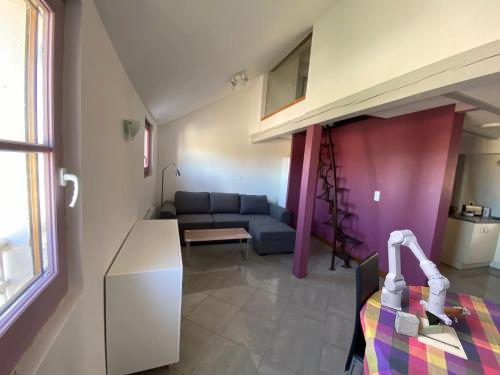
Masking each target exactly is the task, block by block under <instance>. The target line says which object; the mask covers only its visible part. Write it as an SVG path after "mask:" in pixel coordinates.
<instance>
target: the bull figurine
mask: <svg viewBox="0 0 500 375" xmlns="http://www.w3.org/2000/svg"><path fill="white" fill-rule="evenodd" d="M443 311H444V314H445V315H446V316H447V317H453V319H454V321H455V322H456V323H457V324H458V323H459V322H458V320H459V318H460V317H461V316H463V315H468V316H471V312H470V311H469V309H467V307H465V306H462V307H461V306H447V305H444V310H443Z"/></svg>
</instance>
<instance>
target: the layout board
mask: <svg viewBox="0 0 500 375" xmlns="http://www.w3.org/2000/svg"><path fill="white" fill-rule="evenodd" d="M419 317H420V321H421V326H429V322H428V318H424V317H422V316H419ZM440 324H441V322H440V323H439V324H438V325H440ZM443 325H444V330H443V333H433V334H422V335H419V334H417V340H418V342H420V343H422V344H425V345H427V346H430V347H431V348H432V347H433V348H434V349H435V348H436V349H438V350H440V351H443V352H446V353H448V354H451V355H453V356H456V357H459V358H461V359H464V360H468V357H467V354H466V352H465V350H464V348H463V346H462V343H461V341H460V339H459V337H458V335H457V333H456V331H455V328H454V327H452V326H450V325H447V324H443Z"/></svg>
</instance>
